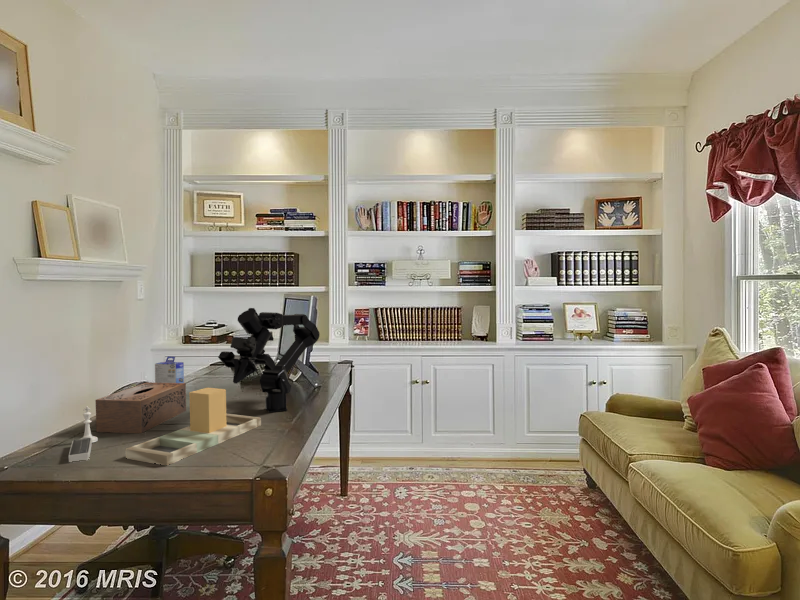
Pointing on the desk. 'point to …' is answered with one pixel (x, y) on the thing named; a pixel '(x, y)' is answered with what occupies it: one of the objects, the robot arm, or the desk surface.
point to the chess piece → (87, 426)
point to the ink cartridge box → (169, 371)
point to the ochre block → (207, 410)
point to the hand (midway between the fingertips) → (234, 382)
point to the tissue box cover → (140, 407)
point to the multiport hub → (80, 449)
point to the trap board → (189, 441)
